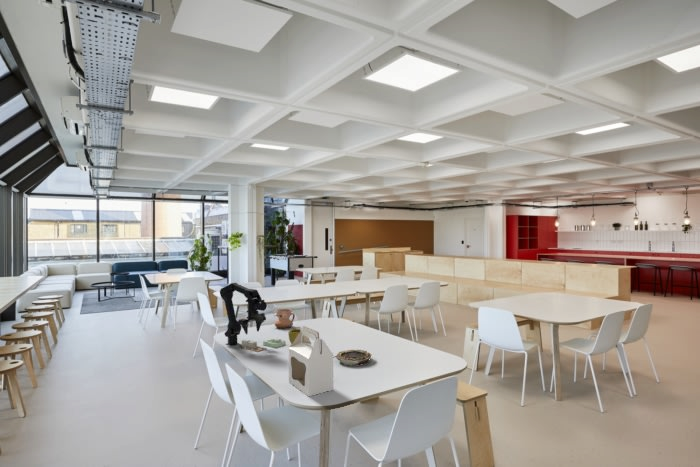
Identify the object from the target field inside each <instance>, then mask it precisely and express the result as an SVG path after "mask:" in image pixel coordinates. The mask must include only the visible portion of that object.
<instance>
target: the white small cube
mask: <svg viewBox="0 0 700 467" xmlns="http://www.w3.org/2000/svg"><path fill="white" fill-rule="evenodd" d="M257 346H258V342H257V341H254V340H250V342H248V348H249V349H255V348H257Z"/></svg>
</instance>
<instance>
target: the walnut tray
mask: <svg viewBox="0 0 700 467" xmlns="http://www.w3.org/2000/svg"><path fill="white" fill-rule="evenodd" d="M237 348H240V349H243V350H244V349H245V350H249V351H252V352H256V353H260V352H262V351H266V350H268V348H266V347H262V346H258V345H257V348H255V349H249V348H248V347H246V348H245V347H242V344H241V345H238V347H237Z"/></svg>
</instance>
